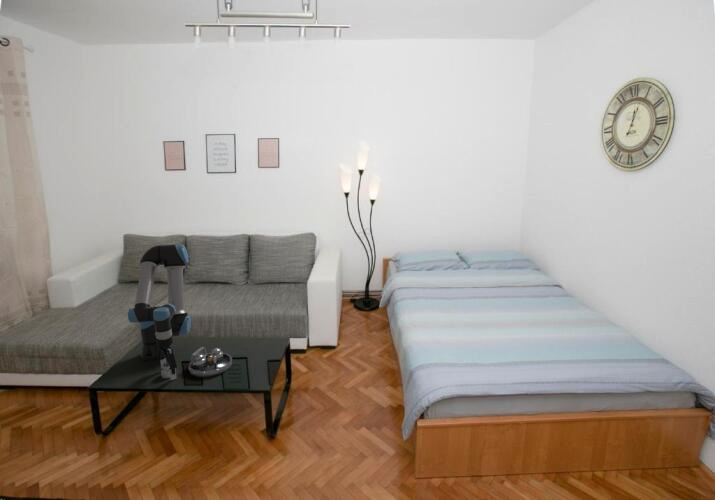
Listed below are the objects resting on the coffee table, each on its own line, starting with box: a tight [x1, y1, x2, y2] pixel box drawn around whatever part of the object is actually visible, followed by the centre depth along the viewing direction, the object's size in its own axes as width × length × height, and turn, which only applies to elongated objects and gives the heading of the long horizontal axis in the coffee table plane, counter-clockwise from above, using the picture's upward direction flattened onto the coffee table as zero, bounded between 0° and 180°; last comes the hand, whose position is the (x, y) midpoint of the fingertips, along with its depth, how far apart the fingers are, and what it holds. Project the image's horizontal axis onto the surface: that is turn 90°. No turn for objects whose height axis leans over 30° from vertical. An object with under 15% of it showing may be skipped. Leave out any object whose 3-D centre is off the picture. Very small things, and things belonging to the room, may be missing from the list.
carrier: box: [188, 347, 233, 378], centre depth 216 cm, size 22×22×8 cm
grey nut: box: [160, 362, 177, 379], centre depth 209 cm, size 7×7×6 cm
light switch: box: [190, 346, 207, 367], centre depth 220 cm, size 2×12×8 cm, turn 168°
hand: (168, 374), depth 209 cm, fingers open, 12 cm apart
